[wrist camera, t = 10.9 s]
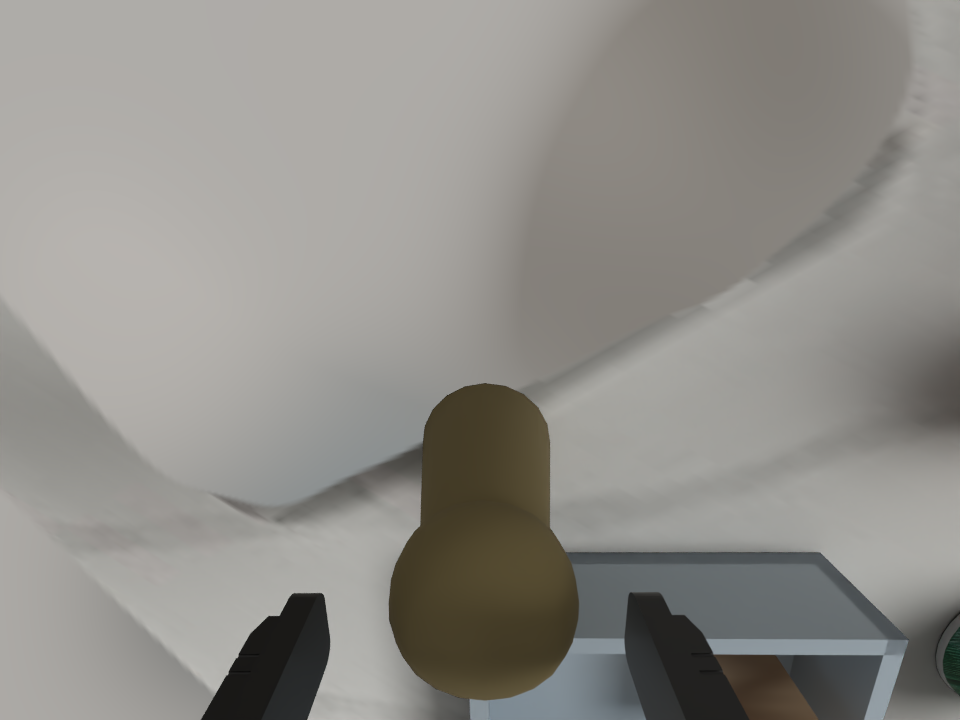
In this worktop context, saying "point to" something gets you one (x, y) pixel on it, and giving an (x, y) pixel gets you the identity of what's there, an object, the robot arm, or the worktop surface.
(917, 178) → the worktop surface
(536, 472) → the cork
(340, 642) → the worktop surface
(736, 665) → the walnut cube
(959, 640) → the canned tomato
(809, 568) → the tote
